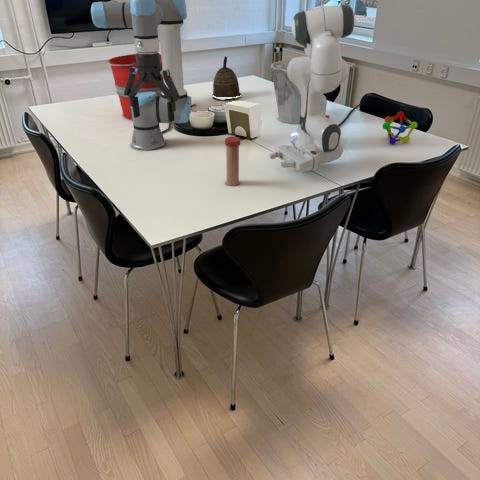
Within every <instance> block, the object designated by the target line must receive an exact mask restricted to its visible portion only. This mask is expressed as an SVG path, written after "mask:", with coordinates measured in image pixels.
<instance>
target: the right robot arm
mask: <svg viewBox="0 0 480 480" xmlns="http://www.w3.org/2000/svg"><path fill="white" fill-rule="evenodd" d="M355 24H356V16H355V13H354V9H353V8H352V6H350V5H348V4H340V5H328V6H327V5H326V6H325V5H317V6H314V7H312V8H311V9H309V10H301V11H298V12H297V13H295V15H294V16H293V18H292V22H291V32H292V36H293V38H294V41H295V42H296V43H297V44H299V45H300V46H303V47H304V48H303V50H304V53H305V55H303V56H297V57H292V58H291V59H290V60H289V61H290V62H289V64H288V66H287V75H288V78H289V79H290V81H292V82H293V83H294V84H295V85H296V87H297V88H298V90H299V92H300V96H301V115H300V117H299V124H297V125H296V131H295V132H294V133H291V134H290V136H291V137H293V136H294V139H293V140H292V143H293V144H294V146H293V145H277V146H276V147H275V149H274V152H273V153H270V154H269V158H270V159H271V160H276V158H279V159H280V160H282V162H281V163H280V166H281V167H282V169H283V168H285V169H286V168H290V169H295V170H296V171H297V172H301V173H303V172H311V171H318V168H319V167H318V166H319V164H327V163H331V162H334V161H336V160H338V159H340V158H341V157H342V155H343V152H344V145H343V143H342V140H341V135H342V130H341V126H342V125H343V124H344V123H345V122H346V121H347V119H349V117H350V116H351V114H352V113H353V112H354V111H355V110H356V109H358V108H359V107H361V106H362V105H363V106H365V105H366V104H365V103H364V104H362V105H361V103H359V104H357V105H355V106H354V107H353V108H352V109H350V111H349V112H348V113H347V114H346V117H345V118H344V119H343V120H342V121H340V123H339V124H337V123H335V122H334V121H333V120H331V119H330V118H331V115H330V114H326V113H327V112H326V111H327V103H328V100H327V97H326V96H325V95H324V94H327V93H328V94H329V93H331V92H333V91H335V90H337V88H338V87H339V86H340V85H341V84H343V83H344V82H345V81H346V79H347V77H348V74H349V67H348V63H347V62H346V60H345V59H343V55H342V48H341V43H340V40H339V39H340V38H341V39H344V38H346V37H349V36H351V34H353V32H354V28H355Z"/></svg>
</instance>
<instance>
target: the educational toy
mask: <svg viewBox="0 0 480 480" xmlns="http://www.w3.org/2000/svg"><path fill="white" fill-rule="evenodd" d="M397 119H399V124H400V125H399V127H398V126H393V125H391V124H392V123H394V122H395V121H396V120H397ZM403 120H404V121H405V122H407V123H408V124H409V125H407V126H404V123H403ZM417 127H418V122H417V121H411V120H410V119H409V118H408V117H406V116H405V113H404V112H403V111H401V110H400V111H398V112H397V114H396V115H394V116H391V117H390V116H386V117H385V118H384V122H383V123H382V129H383V130H386V132H387V138H388V142H389V145H395V144H396V143H397V142H402V141H403V142H404V143H409V142H410V140H411V138H410V136H411V134H412V132H413V131H414V130H415V129H417ZM392 129H393V130H397V131H398V132H396V134H395V133H394V132H392ZM408 129H409V131H408V133H407V134H406V135H404V136H401V134H403V133H405V132H406V130H408ZM399 135H400V136H399Z"/></svg>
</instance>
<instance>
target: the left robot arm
mask: <svg viewBox="0 0 480 480" xmlns="http://www.w3.org/2000/svg"><path fill="white" fill-rule="evenodd" d="M90 15H91V19H92V20H91V21H92V23H93V25H94V26H95V27H96V28H99V29H100V28H101V29H132V32H133V41H134V42H133V43H134V50H135V52H136V53H135V54H136V62H137V65H138V68H136V67H135V66H134V67H131V68H129V78H128V81H127V84H126V88H125V91H124V95H127V96H129V97H130V103H131V111H132V118H133V120H132V125H133V132H132V135H131V147H132V148H134V149H135V150H141V151H151V150H153V151H154V150H157V149H161V148H163V147H164V146H165V144H166V140H165V137H164V135H163V133H166V132H168V131H169V130H171V124H186V123H188V122H189V121H190V118H191V117H190V116H191V111H192V110H191V109H192V107H195V106H197V104H196V103H194V104H192V96H190V95H188V90H186V89H185V86H184V71H183V56H182V55H183V54H182V39H181V28H182V26H183V25H184V20H186V19H187V17H188V13H187V5H186V0H109V1H94V2H92V4H91V7H90ZM159 52H160V53H159ZM160 55H161V58H162V70H161V69H160ZM137 73H138V74H139V76H140V77H139V79H138V80H137V83H136V84H135V86H134V88H133V85H134V81H135V78H136V74H137ZM161 75H162V77H163V79H162V78H161V77H160V76H161ZM144 82H145V83H151V84H154V83H155V85H156V86H158V87H159V89H160V90H161V91H162V92H161V96H157V94H156V93H155V92H144V93H139V94H137V93H138V91H139V90H140V88H141V87H142V85H143V83H144ZM132 88H133V89H132ZM160 124H168V128H166V129H165V130H161V127H160Z"/></svg>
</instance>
